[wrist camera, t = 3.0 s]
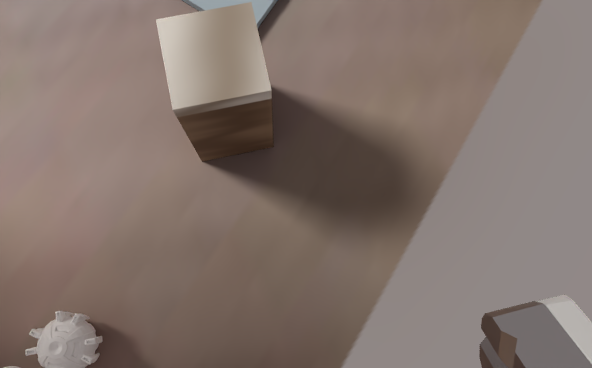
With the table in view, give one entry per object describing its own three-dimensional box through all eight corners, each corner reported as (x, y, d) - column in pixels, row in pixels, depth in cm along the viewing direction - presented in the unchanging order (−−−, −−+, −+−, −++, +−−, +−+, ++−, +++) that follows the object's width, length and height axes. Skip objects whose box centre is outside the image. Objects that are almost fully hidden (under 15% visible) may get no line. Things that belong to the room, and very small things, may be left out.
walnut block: (202, 161, 32) (172, 109, 23) (189, 94, 33) (155, 19, 24) (273, 146, 32) (271, 90, 23) (258, 80, 33) (251, 2, 24)
